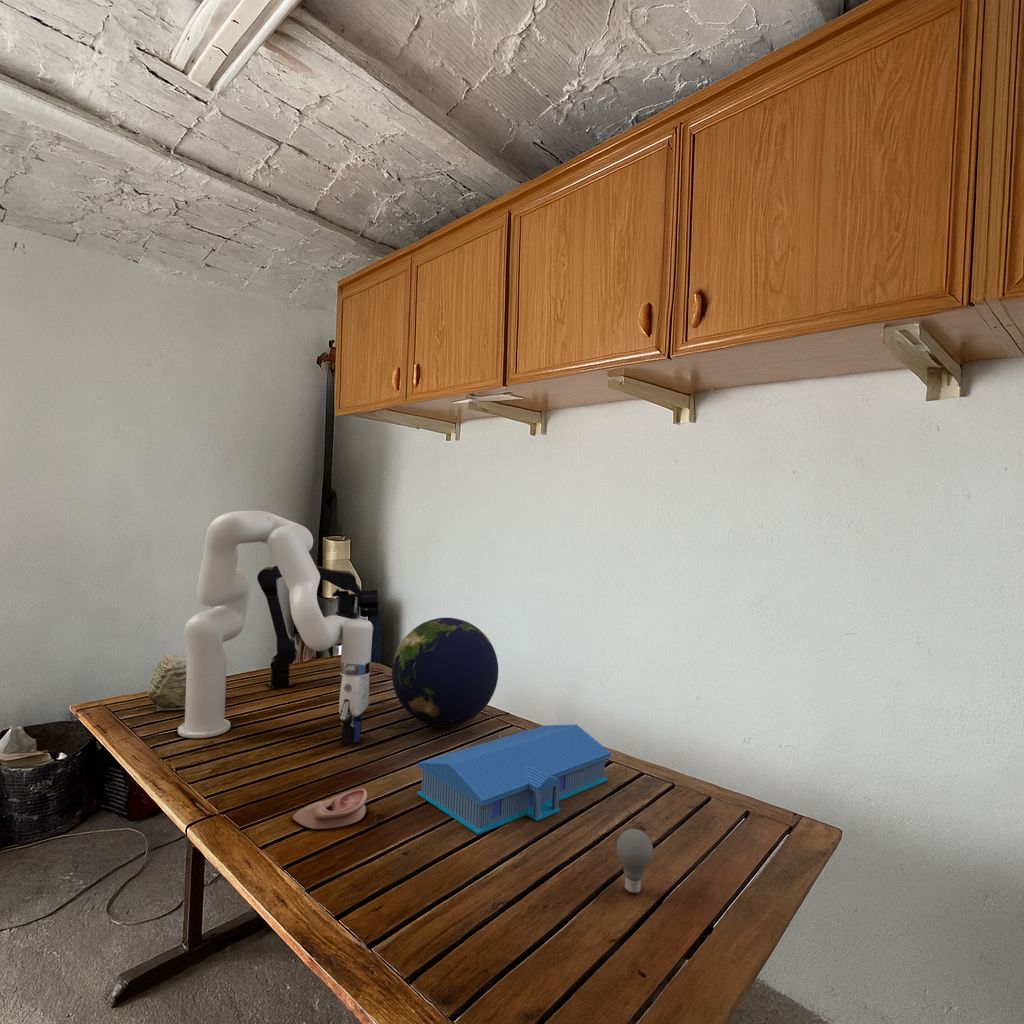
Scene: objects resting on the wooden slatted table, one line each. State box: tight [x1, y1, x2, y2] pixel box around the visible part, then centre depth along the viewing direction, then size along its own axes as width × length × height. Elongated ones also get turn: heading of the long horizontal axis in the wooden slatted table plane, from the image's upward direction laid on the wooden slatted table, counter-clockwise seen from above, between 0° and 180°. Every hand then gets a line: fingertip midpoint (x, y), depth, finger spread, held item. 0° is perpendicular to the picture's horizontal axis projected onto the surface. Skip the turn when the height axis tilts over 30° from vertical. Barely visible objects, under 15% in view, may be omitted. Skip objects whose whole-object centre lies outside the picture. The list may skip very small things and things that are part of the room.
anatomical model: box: [292, 788, 368, 830], centre depth 126 cm, size 13×4×12 cm
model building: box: [416, 724, 612, 835], centre depth 141 cm, size 39×24×10 cm, turn 132°
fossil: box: [147, 654, 187, 712], centre depth 185 cm, size 9×18×15 cm, turn 132°
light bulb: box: [615, 828, 654, 894], centre depth 106 cm, size 6×6×10 cm
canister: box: [353, 721, 362, 743], centre depth 163 cm, size 4×4×4 cm
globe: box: [391, 616, 499, 728], centre depth 179 cm, size 30×30×30 cm
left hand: (351, 737), depth 163 cm, fingers closed on canister, 4 cm apart
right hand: (344, 655), depth 214 cm, fingers open, 9 cm apart
